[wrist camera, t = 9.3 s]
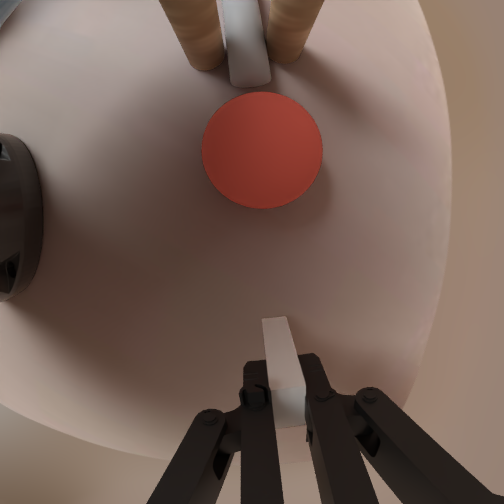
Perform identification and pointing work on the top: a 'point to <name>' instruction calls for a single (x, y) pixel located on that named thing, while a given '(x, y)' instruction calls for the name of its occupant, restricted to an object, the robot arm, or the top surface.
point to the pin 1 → (197, 31)
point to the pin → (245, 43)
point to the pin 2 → (290, 28)
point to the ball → (262, 150)
